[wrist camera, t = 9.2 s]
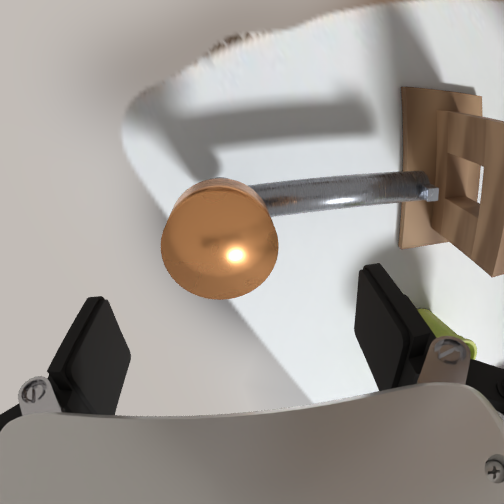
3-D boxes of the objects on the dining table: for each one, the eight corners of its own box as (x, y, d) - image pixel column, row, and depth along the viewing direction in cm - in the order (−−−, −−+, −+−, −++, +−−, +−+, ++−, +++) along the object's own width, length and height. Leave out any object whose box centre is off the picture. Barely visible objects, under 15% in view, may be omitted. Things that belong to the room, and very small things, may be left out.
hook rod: (404, 142, 24) (481, 171, 15) (403, 207, 27) (468, 258, 18) (176, 163, 24) (149, 203, 15) (190, 234, 27) (175, 305, 18)
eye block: (477, 95, 24) (556, 110, 14) (467, 235, 31) (528, 283, 22) (401, 86, 24) (482, 91, 14) (398, 245, 31) (456, 306, 21)
